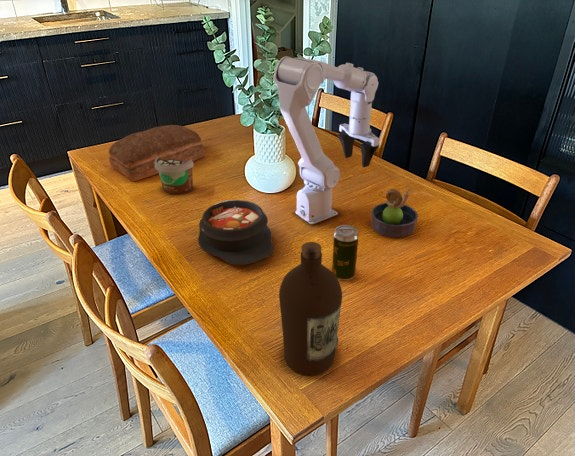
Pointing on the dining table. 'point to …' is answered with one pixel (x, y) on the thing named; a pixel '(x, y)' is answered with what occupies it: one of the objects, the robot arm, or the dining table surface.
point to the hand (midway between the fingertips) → (356, 161)
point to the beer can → (345, 252)
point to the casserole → (235, 232)
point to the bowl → (395, 231)
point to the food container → (175, 175)
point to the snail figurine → (394, 206)
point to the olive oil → (310, 313)
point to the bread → (154, 150)
